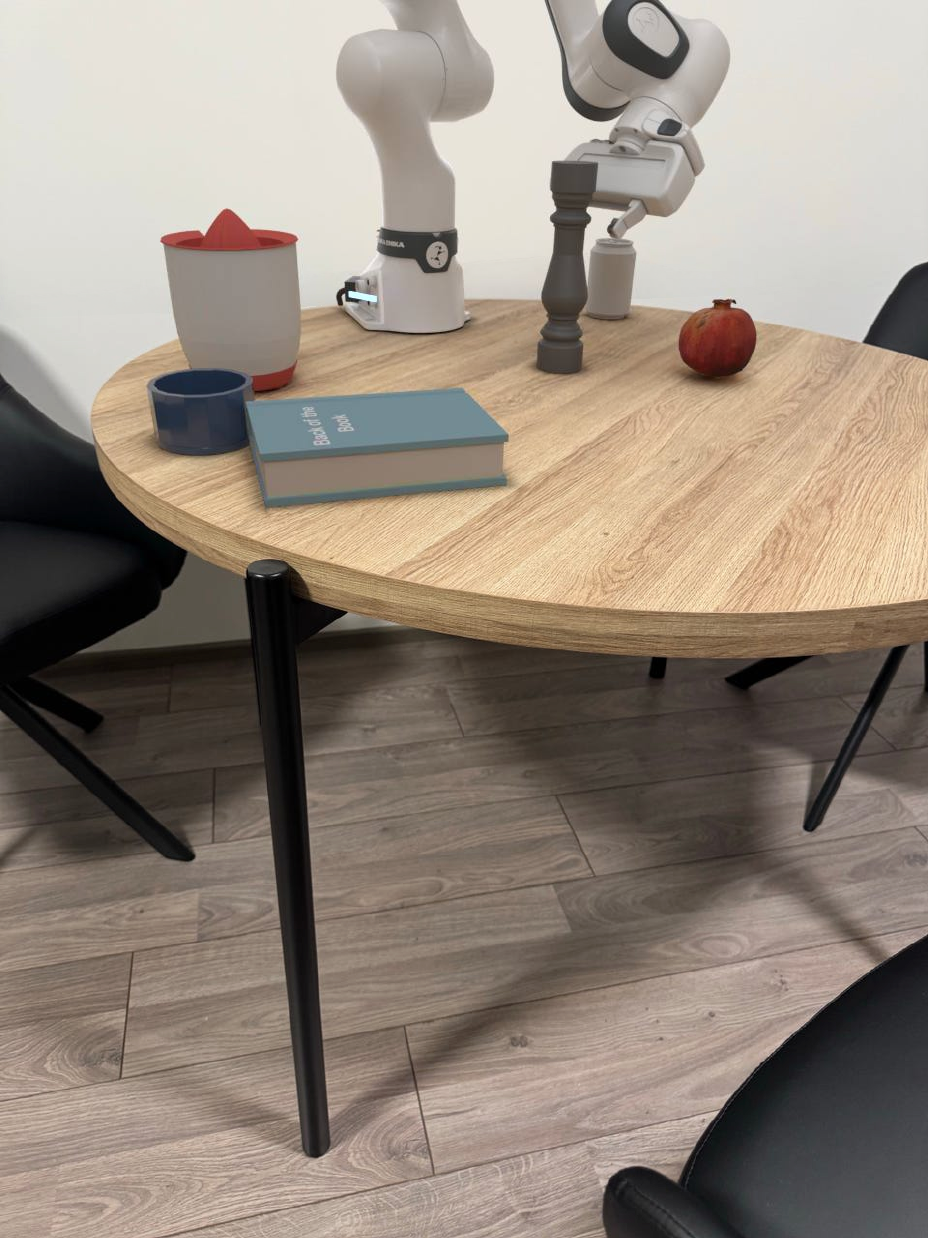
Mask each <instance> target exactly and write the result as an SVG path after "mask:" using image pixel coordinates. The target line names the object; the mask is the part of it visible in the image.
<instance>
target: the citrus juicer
mask: <svg viewBox="0 0 928 1238" xmlns="http://www.w3.org/2000/svg"><path fill="white" fill-rule="evenodd" d="M298 241H299V238H298V237H297V235H296V234H293V233H290V232H285V231H280V230H271V229H260V228H259V229H255V228H250V227H249V226H248V225H247V223H246V222H245V221H244V220H243V219H242V218H241V217H240V216H239V215H238V214H237V213H235V211H233V210H232V209H231V208H228V207H227V208H223V209H222V210H221V211H220V212H219V213H218V215H217V216H216V217H215V218H214V220H213V221H212V223H211V224H210V225H209V227H208V229H207V231H206V232H205V234H203V233H202V232H201V230H185V231H177V232H173V233H169V234H166V235H163V236H161V237H160V241H159V242H160V243H161V244H163V251H164V258H165V265H166V272H167V279H168V287H169V293H170V300H171V307H172V313H173V318H174V325H175V329H176V334H177V337H178V339H179V343H180V346H181V349H182V351H183V353H184V356H185V358H186V361H187V363H188V367H189V369H195V368H221V369H231V370H236V371H239V372H243V373H246V374H248V375H249V376H250V377H252V378H253V384H254V392H260V391H261V392H262V391H266V390H277V389H282V388H283V386H284V385H286V384H288V383H289V382H290V381H292V378H293V376H294V372H295V369H296V366H297V364H298V360H297V359H298V354H299V349H300V345H301V333H302V308H301V295H300V293H301V292H300V281H299V280H300V279H299V268H298V267H299V266H298V265H299V264H298V252H297V242H298Z"/></svg>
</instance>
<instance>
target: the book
mask: <svg viewBox="0 0 928 1238" xmlns="http://www.w3.org/2000/svg"><path fill="white" fill-rule="evenodd" d="M246 414H247V423H248V432H249V441H250V445H249V446H250V447H249V448H250V451H251V456H252V460H253V463H254V464H253V465H254V468H255V472H256V476H257V479H258V485H259V488H260V492H261V496H262V499H263V504H264V508H265V509H266V508H276V507H287V506H297V505H308V504H319V503H327V502H328V503H329V502H339V501H348V500H349V501H350V500H352V501H353V500H358V499H359V500H360V499H361V500H362V499H371V498H381V497H394V496H403V495H404V496H405V495H415V494H423V493H424V494H425V493H436V492H446V491H456V490H466V489H467V490H468V489H478V488H489V487H498V486H506V485H507V476H505V475H504V474H503V470H504V449H505V443H509V439H510V438H509V437H510V435H509V433H508V432H507V431H506V430H505V429H504V428H503V427H502V426H501V425H500V424H499V423H498V422H497V421H496V420H495V419H494V418H493V417H492V416H491V415H490V414H489V413H488V412H487V411H486V410H485V408H483V407H482V406H481V405H480V404H479V403H478V402H477V401H476V400H475V399H474V398H473V397H472V396H471V395H470V394H469V393H468V392H466V390H465V389H464V388H463V387H456V388H455V387H453V388H439V389H437V388H436V389H425V390H424V389H422V390H421V389H420V390H407V391H406V390H405V391H390V392H375V393H374V392H373V393H361V394H360V393H359V394H358V393H357V394H344V395H343V394H342V395H329V396H327V395H326V396H310V397H296V398H282V399H281V398H280V399H265V400H255V401H247V402H246Z"/></svg>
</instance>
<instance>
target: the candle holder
mask: <svg viewBox="0 0 928 1238" xmlns="http://www.w3.org/2000/svg"><path fill="white" fill-rule="evenodd" d="M597 172H598V163H597V162H589V161H564V160H553V161H551V170H550V178H551V182H550V181H549V191H551V199H552V201H553V204H554V207H555V211H554V212H553V213H551V215H550V216H549V221H550V222H551V223H552V224H553V228H554V230H553V232H554V233H553V245H552V254H551V258H550V261H549V264H548V268H547V272H546V276H545V279H544V282H543V286H542V289H541V293H540V301H541V304H542V306H543V308H544V310H545V311H546V312H547V313H546V314H545V317H546V318H547V321H546V322H545V323H544V325H543V326H542V328H541V329H540V331H539V332H540V336H542V338H539V340H538V341H537V349H536V350H537V351H536V365H535V367H536V368H537V369H538V371H539V370H540V371H542V372H545V373H550V374H560V375H561V374H563V375H564V374H565V375H566V374H574V373H578V372H580V371H582V367H583V356H584V345H585V343H584V341H582V340H580V339H581V338H582V337H583V335H584V331H583V329H582V328H581V325H580V324H579V322H578V320H579V319H580V313H581V312H582V311H583V310H584V309H585V307H586V302H587V299H588V290H587V285H588V281H587V275H586V267H585V260H584V247H585V246H584V245H585V235H586V229H587V227H588V225H590V223H591V222H592V216H591V215H590V214H589V213H588V211H587V210H588V208H590V207H589V203H590V202H591V200H592V199H593V193H594V192H596V183H597Z"/></svg>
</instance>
